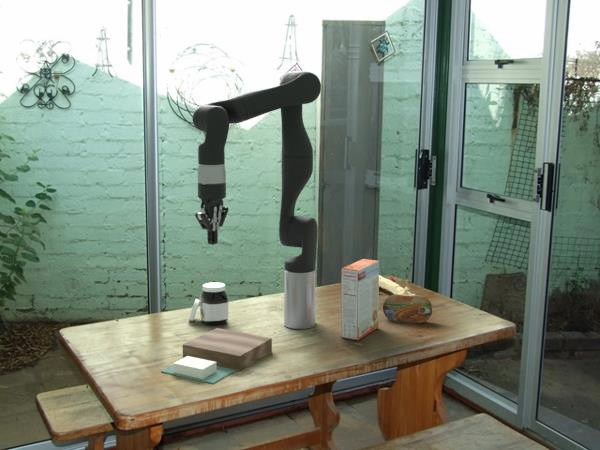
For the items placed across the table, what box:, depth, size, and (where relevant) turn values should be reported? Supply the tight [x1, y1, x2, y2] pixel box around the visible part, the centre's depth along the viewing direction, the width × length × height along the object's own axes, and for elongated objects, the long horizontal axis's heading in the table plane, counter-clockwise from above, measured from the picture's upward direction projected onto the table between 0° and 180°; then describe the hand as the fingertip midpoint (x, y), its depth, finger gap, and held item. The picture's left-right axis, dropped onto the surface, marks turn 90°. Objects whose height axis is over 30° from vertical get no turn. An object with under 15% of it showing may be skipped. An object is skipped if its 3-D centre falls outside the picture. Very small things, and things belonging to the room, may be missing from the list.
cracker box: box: [340, 258, 380, 341], centre depth 229 cm, size 14×6×21 cm, turn 149°
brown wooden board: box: [182, 327, 273, 372], centre depth 211 cm, size 16×18×4 cm
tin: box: [382, 294, 433, 324], centre depth 242 cm, size 15×3×8 cm, turn 76°
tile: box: [172, 356, 217, 379], centre depth 199 cm, size 6×9×2 cm, turn 62°
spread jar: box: [188, 281, 230, 326], centre depth 240 cm, size 12×11×12 cm
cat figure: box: [379, 274, 416, 295], centre depth 273 cm, size 10×9×25 cm
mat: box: [160, 364, 237, 385], centre depth 200 cm, size 10×16×1 cm, turn 62°
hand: (212, 243), depth 215 cm, fingers closed
